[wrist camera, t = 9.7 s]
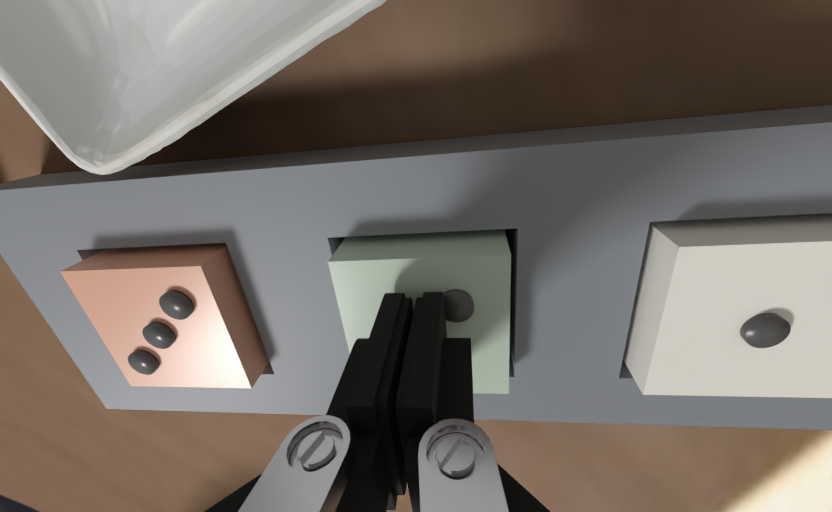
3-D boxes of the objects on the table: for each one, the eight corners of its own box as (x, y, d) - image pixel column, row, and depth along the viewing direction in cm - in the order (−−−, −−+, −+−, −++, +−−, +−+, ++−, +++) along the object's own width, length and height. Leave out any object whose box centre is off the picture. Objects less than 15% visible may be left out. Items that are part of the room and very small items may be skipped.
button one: (809, 196, 11) (934, 241, 8) (756, 331, 13) (839, 403, 10) (628, 206, 11) (683, 250, 9) (607, 332, 14) (645, 400, 11)
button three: (253, 227, 13) (196, 269, 10) (287, 334, 16) (248, 392, 13) (135, 234, 14) (53, 274, 11) (185, 335, 16) (126, 390, 13)
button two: (500, 214, 12) (511, 258, 9) (500, 333, 14) (509, 399, 11) (355, 222, 13) (325, 265, 10) (377, 334, 15) (356, 395, 12)
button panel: (984, 91, 9) (1144, 96, 7) (829, 374, 14) (899, 431, 12) (39, 174, 14) (-41, 193, 12) (149, 368, 18) (106, 408, 16)
